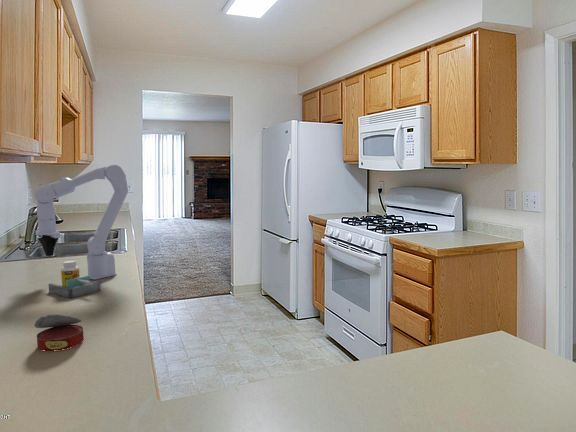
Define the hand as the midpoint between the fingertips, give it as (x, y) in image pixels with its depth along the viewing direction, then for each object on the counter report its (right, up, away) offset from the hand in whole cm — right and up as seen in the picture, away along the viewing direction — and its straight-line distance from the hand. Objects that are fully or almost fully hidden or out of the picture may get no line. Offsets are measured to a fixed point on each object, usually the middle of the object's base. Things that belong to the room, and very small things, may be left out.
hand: (49, 255), depth 165 cm
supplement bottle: (+14, -11, -12) cm, 21 cm away
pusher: (+21, -11, -17) cm, 29 cm away
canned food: (+34, -16, -59) cm, 70 cm away
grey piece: (+16, -11, -13) cm, 23 cm away
